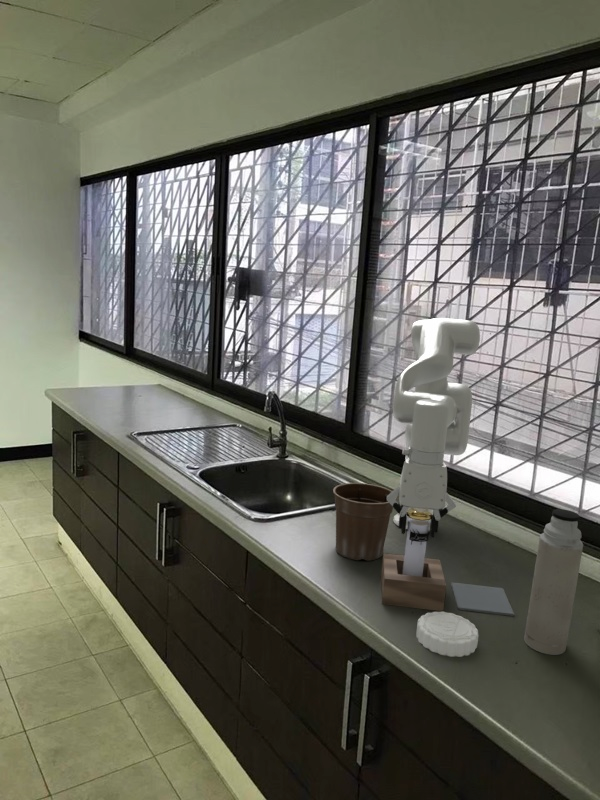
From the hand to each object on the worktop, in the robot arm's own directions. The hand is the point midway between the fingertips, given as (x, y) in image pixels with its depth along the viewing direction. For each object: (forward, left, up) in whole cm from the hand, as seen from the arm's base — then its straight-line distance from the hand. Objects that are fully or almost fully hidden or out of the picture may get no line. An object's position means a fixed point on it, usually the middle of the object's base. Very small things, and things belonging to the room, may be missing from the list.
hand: (417, 532), depth 146 cm
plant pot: (-19, -12, -15) cm, 27 cm away
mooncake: (+19, +6, -15) cm, 25 cm away
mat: (0, +16, -15) cm, 22 cm away
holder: (+1, 0, -15) cm, 15 cm away
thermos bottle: (+16, +26, -15) cm, 34 cm away
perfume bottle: (0, 0, -12) cm, 12 cm away
